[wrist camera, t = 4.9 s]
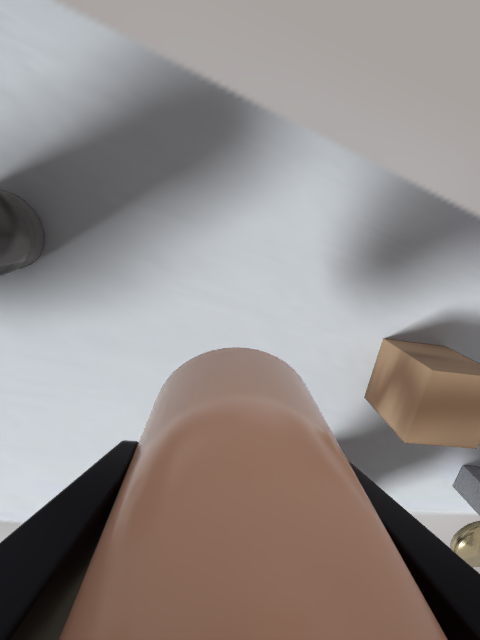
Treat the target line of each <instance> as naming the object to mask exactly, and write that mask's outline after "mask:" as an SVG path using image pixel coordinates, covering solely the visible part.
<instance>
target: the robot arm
mask: <svg viewBox="0 0 480 640" xmlns="http://www.w3.org/2000/svg"><path fill="white" fill-rule="evenodd" d="M137 446H138V442H137V441H126V440H125V441H122V442H120V443H119V444H118V445H117V446H116V447H114V448H113V449H112V450H111V451H110V452H108V453H107V454H106V455H105V456H104V457H102V458H101V459H100V460H99V461H98V462H96V463H95V464H94V465H93V466H92V467H90V468H89V469H88V470H87V471H86V472H84V473H83V474H82V475H81V476H80V477H78V478H77V479H76V480H75V481H74V482H72V483H71V484H70V485H69V486H68V487H66V488H65V489H64V490H63V491H62V492H60V493H59V494H58V495H57V496H56V497H54V498H53V499H52V500H51V501H50V502H48V503H47V504H46V505H45V506H44V507H42V508H41V509H40V510H39V511H38V512H36V513H35V514H34V515H33V516H32V517H31V518H29V519H28V520H27V521H26V522H25V523H23V524H22V525H21V526H20V527H19V528H17V529H16V530H15V531H14V532H13V533H11V534H10V535H9V536H8V537H7V538H5V539H4V540H3V541H2V542H1V543H0V640H59V637H60V635H61V632H62V630H63V627H64V625H65V623H66V620H67V618H68V615H69V613H70V610H71V608H72V605H73V603H74V600H75V598H76V595H77V593H78V591H79V588H80V586H81V583H82V581H83V578H84V576H85V573H86V571H87V568H88V566H89V564H90V561H91V559H92V556H93V554H94V551H95V549H96V546H97V544H98V541H99V539H100V536H101V534H102V532H103V529H104V527H105V524H106V522H107V519H108V517H109V514H110V512H111V509H112V507H113V505H114V502H115V500H116V497H117V495H118V492H119V490H120V487H121V485H122V482H123V480H124V478H125V475H126V473H127V470H128V468H129V465H130V463H131V460H132V458H133V455H134V453H135V450H136V448H137ZM348 462H349V461H348ZM349 464H350V466H351V467H352V469H353V471H354V473H355V474H356V476H357V478H358V480H359V482H360V483H361V485H362V487H363V489H364V491H365V492H366V494H367V496H368V498H369V500H370V501H371V503H372V505H373V507H374V509H375V510H376V512H377V514H378V516H379V518H380V519H381V521H382V523H383V525H384V526H385V528H386V530H387V532H388V534H389V535H390V537H391V539H392V541H393V543H394V544H395V546H396V548H397V550H398V552H399V553H400V555H401V557H402V559H403V561H404V562H405V564H406V566H407V568H408V570H409V571H410V573H411V575H412V577H413V579H414V580H415V582H416V584H417V586H418V587H419V589H420V591H421V593H422V595H423V596H424V598H425V600H426V602H427V604H428V605H429V607H430V609H431V611H432V613H433V614H434V616H435V618H436V620H437V622H438V623H439V625H440V627H441V629H442V631H443V632H444V634H445V636H446V638H447V639H448V640H480V574H479V573H478V572H477V571H476V570H474V569H473V568H472V567H471V566H470V565H469V564H468V563H467V562H465V561H464V560H463V559H462V558H461V557H460V556H458V555H457V554H456V553H455V552H454V551H453V550H451V549H450V548H449V547H448V546H447V545H445V544H444V543H443V542H442V541H441V540H440V539H439V538H437V537H436V536H435V535H434V534H433V533H432V532H430V531H429V530H428V529H427V528H426V527H425V526H424V525H422V524H421V523H420V522H419V521H418V520H417V519H415V518H414V517H413V516H412V515H411V514H410V513H408V512H407V511H406V510H405V509H404V508H403V507H402V506H400V505H399V504H398V503H397V502H396V501H395V500H393V499H392V498H391V497H390V496H389V495H388V494H386V493H385V492H384V491H383V490H382V489H381V488H379V487H378V486H377V485H376V484H375V483H374V482H372V481H371V480H370V479H369V478H368V477H367V476H366V475H364V474H363V473H362V472H361V471H360V470H359V469H357V468H356V467H355V466H354V465H353V464H352V463H350V462H349Z"/></svg>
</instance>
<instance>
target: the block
mask: <svg viewBox="0 0 480 640" xmlns="http://www.w3.org/2000/svg"><path fill="white" fill-rule="evenodd" d="M365 399H366V400H367V401H368V402H369V403H370V404H371V405H372V407H373V408H374V409H375V410H376V411H377V412H378V413H379V415H380V416H381V417H382V418H383V419H384V420H385V421H386V422H387V424H388V425H389V426H390V427H391V428H392V429H393V430H394V432H395V433H396V434H397V435H398V436H399V437H400V438H401V440H402V441H403V442H404V443H413V444H426V445H438V446H450V447H463V448H475V449H477V447H478V445H479V443H480V364H479V363H477V362H475V361H473V360H471V359H469V358H467V357H465V356H463V355H461V354H459V353H457V352H455V351H453V350H451V349H449V348H447V347H445V346H438V345H430V344H422V343H414V342H406V341H398V340H390V339H383V341H382V344H381V347H380V350H379V353H378V356H377V359H376V363H375V366H374V369H373V372H372V375H371V378H370V381H369V384H368V387H367V390H366V394H365Z"/></svg>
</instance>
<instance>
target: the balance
mask: <svg viewBox="0 0 480 640" xmlns="http://www.w3.org/2000/svg"><path fill="white" fill-rule="evenodd" d="M453 487H454V488H455V489H456V490H457V492H458V493H459V494H460V495H461V496H462V497H463V498H464V499H465V500H466V501H467V502H468V503H469V505H470V506H471V507H472V508H473V509H474V510H475V511H476V512H477V513H478V514H479V515H480V467H473V466H462V468H461V471H460V473H459V475H458V477H457V479H456V481H455V483H454V485H453ZM450 546H451V550H453V551H454V552H455V553H456V554H457V555H458V556H460V557H461V558H462V559H463V560H464V561H465V562H467V563H468V564H469V565H470V566H471V567H480V521H476V522H473V523H470V524H468V525H466V526H464V527H463V528H461V529H460V530H459V531H458V532H457V533H456V534H455V535H454V537H453V538H452V540H451V545H450Z"/></svg>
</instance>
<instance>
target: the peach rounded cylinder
mask: <svg viewBox="0 0 480 640" xmlns="http://www.w3.org/2000/svg"><path fill="white" fill-rule="evenodd" d="M59 640H448V639H447V638H446V636H445V634H444V632H443V631H442V629H441V627H440V625H439V623H438V622H437V620H436V618H435V616H434V614H433V613H432V611H431V609H430V607H429V605H428V604H427V602H426V600H425V598H424V596H423V595H422V593H421V591H420V589H419V587H418V586H417V584H416V582H415V580H414V579H413V577H412V575H411V573H410V571H409V570H408V568H407V566H406V564H405V562H404V561H403V559H402V557H401V555H400V553H399V552H398V550H397V548H396V546H395V544H394V543H393V541H392V539H391V537H390V535H389V534H388V532H387V530H386V528H385V526H384V525H383V523H382V521H381V519H380V518H379V516H378V514H377V512H376V510H375V509H374V507H373V505H372V503H371V501H370V500H369V498H368V496H367V494H366V492H365V491H364V489H363V487H362V485H361V483H360V482H359V480H358V478H357V476H356V474H355V473H354V471H353V469H352V467H351V466H350V464H349V462H348V460H347V458H346V457H345V455H344V453H343V451H342V449H341V448H340V446H339V444H338V442H337V440H336V439H335V437H334V435H333V433H332V431H331V430H330V428H329V426H328V424H327V422H326V421H325V419H324V417H323V415H322V414H321V412H320V410H319V408H318V406H317V405H316V403H315V401H314V399H313V397H312V396H311V394H310V392H309V390H308V388H307V387H306V385H305V383H304V382H303V380H302V379H301V377H300V376H299V375H298V374H297V373H296V371H295V370H294V369H293V368H291V367H290V366H289V365H288V364H287V363H285V362H284V361H282V360H280V359H279V358H277V357H275V356H273V355H271V354H268V353H266V352H262V351H259V350H255V349H249V348H223V349H218V350H213V351H210V352H207V353H203V354H201V355H199V356H197V357H194V358H192V359H191V360H189V361H187V362H186V363H184V364H183V365H181V366H180V367H179V368H178V369H177V370H175V371H174V372H173V373H172V375H171V376H170V377H169V378H168V379H167V380H166V382H165V383H164V385H163V386H162V388H161V390H160V392H159V394H158V396H157V399H156V401H155V404H154V406H153V409H152V411H151V414H150V416H149V419H148V421H147V423H146V426H145V428H144V431H143V433H142V436H141V438H140V441H139V443H138V446H137V448H136V450H135V453H134V455H133V458H132V460H131V463H130V465H129V468H128V470H127V473H126V475H125V478H124V480H123V482H122V485H121V487H120V490H119V492H118V495H117V497H116V500H115V502H114V505H113V507H112V509H111V512H110V514H109V517H108V519H107V522H106V524H105V527H104V529H103V532H102V534H101V536H100V539H99V541H98V544H97V546H96V549H95V551H94V554H93V556H92V559H91V561H90V564H89V566H88V568H87V571H86V573H85V576H84V578H83V581H82V583H81V586H80V588H79V591H78V593H77V595H76V598H75V600H74V603H73V605H72V608H71V610H70V613H69V615H68V618H67V620H66V623H65V625H64V627H63V630H62V632H61V635H60V637H59Z"/></svg>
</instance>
